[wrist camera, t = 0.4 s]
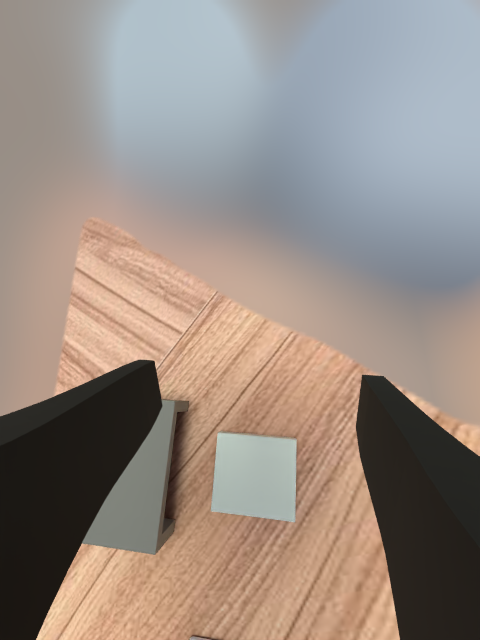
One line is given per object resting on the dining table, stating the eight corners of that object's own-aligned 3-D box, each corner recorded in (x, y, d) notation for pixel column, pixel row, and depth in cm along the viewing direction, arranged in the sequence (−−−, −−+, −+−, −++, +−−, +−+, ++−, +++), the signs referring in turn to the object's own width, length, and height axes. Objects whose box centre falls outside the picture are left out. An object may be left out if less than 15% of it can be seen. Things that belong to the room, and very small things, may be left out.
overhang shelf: (173, 531, 33) (155, 554, 28) (97, 520, 34) (66, 540, 29) (188, 401, 37) (175, 401, 32) (119, 396, 38) (96, 394, 33)
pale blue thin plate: (293, 513, 32) (295, 522, 30) (215, 503, 33) (210, 511, 31) (295, 437, 34) (296, 439, 32) (221, 430, 35) (217, 432, 33)
